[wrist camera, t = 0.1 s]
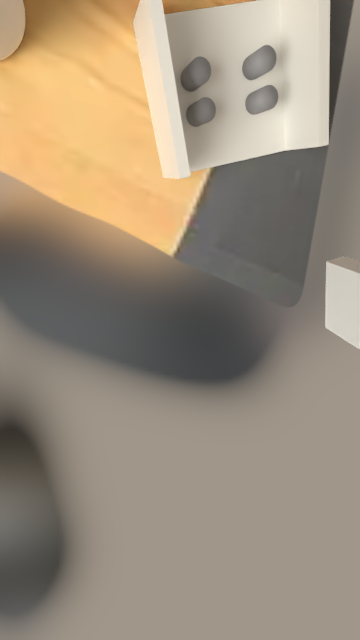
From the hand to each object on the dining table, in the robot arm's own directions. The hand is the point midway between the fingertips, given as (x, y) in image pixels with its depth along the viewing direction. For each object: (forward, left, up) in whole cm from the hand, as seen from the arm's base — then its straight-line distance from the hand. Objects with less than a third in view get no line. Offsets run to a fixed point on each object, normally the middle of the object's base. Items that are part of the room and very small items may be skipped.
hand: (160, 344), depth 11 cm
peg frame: (-10, +15, -28) cm, 33 cm away
